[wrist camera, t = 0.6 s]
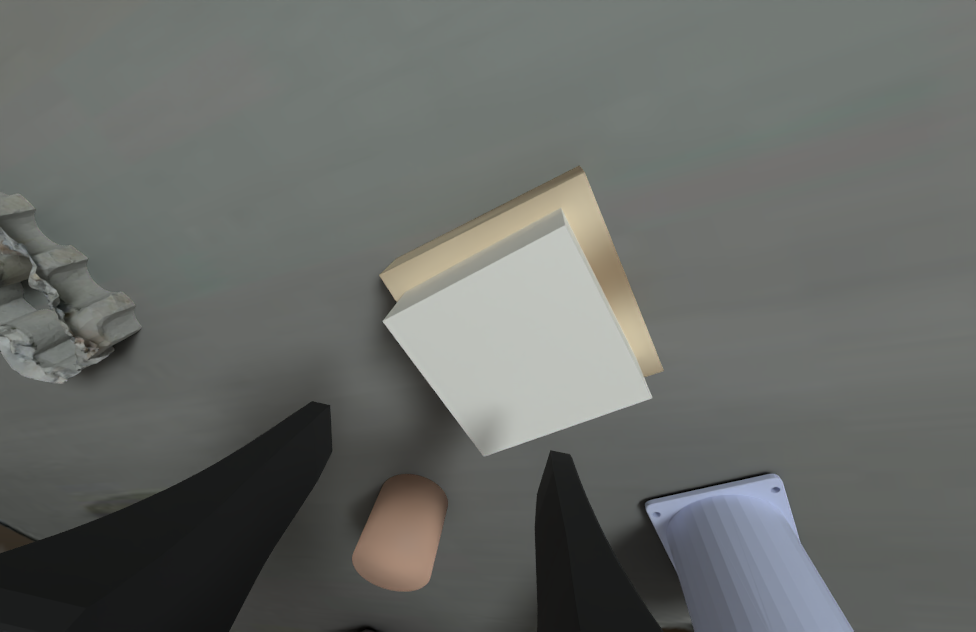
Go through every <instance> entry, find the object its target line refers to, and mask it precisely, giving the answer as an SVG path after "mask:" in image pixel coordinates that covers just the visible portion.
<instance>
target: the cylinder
mask: <svg viewBox="0 0 976 632" xmlns="http://www.w3.org/2000/svg"><path fill="white" fill-rule="evenodd" d="M447 507H448V499H447V496H446V494H445V493H444V491H443V490H442V489H441V488H440V487H439V486H438V485H437V484H436V483H434V482H433V481H431V480H429V479H427V478H425V477H422V476H418V475H413V474H400V475H396V476H393V477H391V478H389V479H388V480H386V482H385V483H384V484H383V486H382V488H381V490H380V493H379V495H378V497H377V500H376V502H375V504H374V507H373V509H372V511H371V513H370V516H369V518H368V520H367V523H366V525H365V527H364V530H363V532H362V534H361V537H360V539H359V541H358V543H357V546H356V548H355V550H354V553H353V555H352V562H353V565H354V567H355V569H356V570H357V572H358V573H359V574H360V575H361V576H362V577H363V578H365V579H366V580H367V581H369V582H371V583H372V584H374V585H377V586H379V587H382V588H384V589H388V590H393V591H403V592H404V591H414V590H417V589H420V588H422V587H424V586H425V585H426V584H427V583H428V582H429V580H430V577H431V573H432V569H433V565H434V560H435V556H436V552H437V548H438V544H439V540H440V536H441V532H442V528H443V524H444V519H445V515H446V511H447Z"/></svg>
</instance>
